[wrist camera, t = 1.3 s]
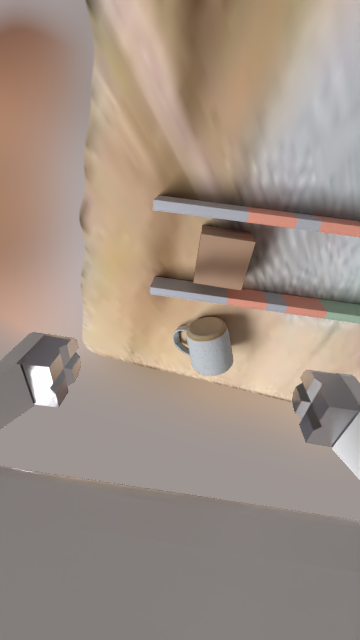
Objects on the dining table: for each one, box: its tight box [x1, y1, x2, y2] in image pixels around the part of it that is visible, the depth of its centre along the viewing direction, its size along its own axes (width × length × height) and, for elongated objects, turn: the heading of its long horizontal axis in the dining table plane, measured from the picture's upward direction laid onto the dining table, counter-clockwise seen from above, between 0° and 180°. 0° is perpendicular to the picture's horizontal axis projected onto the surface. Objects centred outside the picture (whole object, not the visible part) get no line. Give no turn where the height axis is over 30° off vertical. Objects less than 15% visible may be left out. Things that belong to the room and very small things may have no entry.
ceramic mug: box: [173, 317, 233, 376], centre depth 43 cm, size 11×8×8 cm
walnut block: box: [193, 225, 256, 290], centre depth 35 cm, size 7×7×5 cm
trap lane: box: [150, 195, 360, 323], centre depth 35 cm, size 13×38×4 cm, turn 84°
